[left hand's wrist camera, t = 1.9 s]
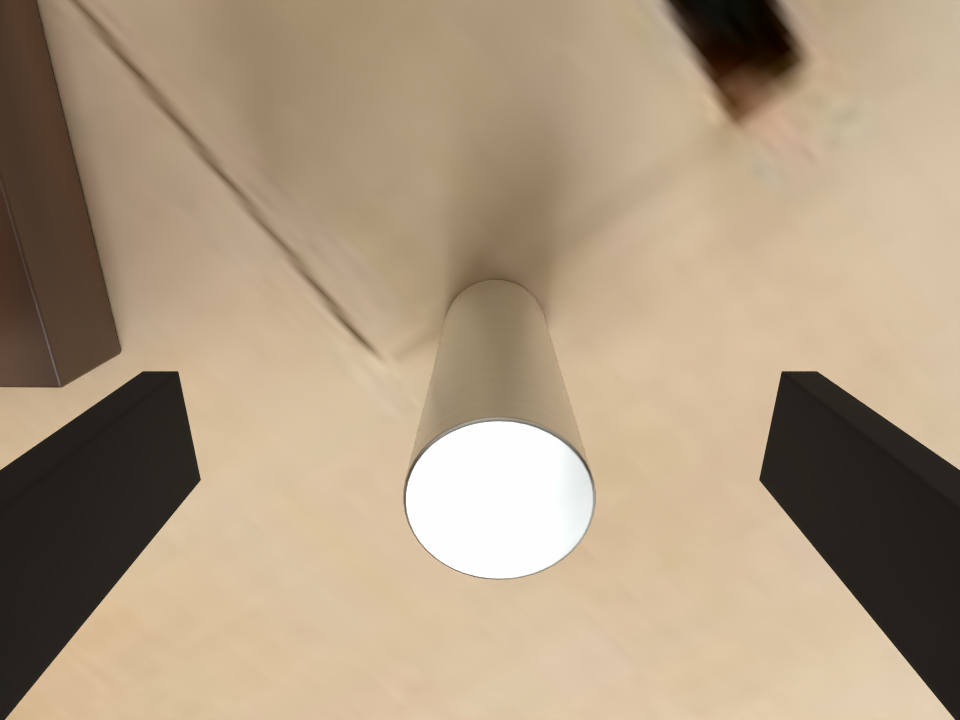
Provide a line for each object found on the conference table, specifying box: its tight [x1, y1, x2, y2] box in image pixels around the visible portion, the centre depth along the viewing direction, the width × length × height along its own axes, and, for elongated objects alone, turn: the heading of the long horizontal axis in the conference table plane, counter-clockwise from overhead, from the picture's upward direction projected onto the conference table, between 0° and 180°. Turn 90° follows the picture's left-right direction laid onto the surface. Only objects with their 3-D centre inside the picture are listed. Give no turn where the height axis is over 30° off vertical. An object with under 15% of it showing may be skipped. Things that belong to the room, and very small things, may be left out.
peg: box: [403, 279, 596, 580], centre depth 15 cm, size 3×3×10 cm
